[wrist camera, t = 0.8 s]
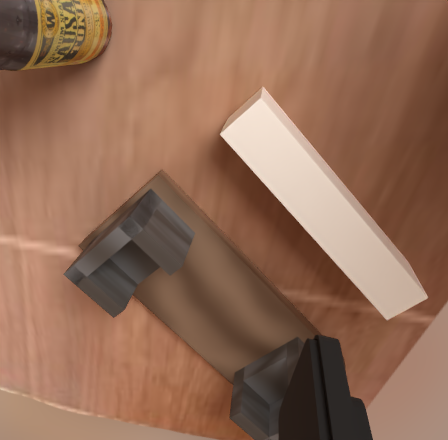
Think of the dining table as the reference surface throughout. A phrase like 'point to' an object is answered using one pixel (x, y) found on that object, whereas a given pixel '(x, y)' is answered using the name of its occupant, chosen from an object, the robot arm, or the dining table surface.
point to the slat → (322, 203)
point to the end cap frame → (198, 296)
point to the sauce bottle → (52, 32)
